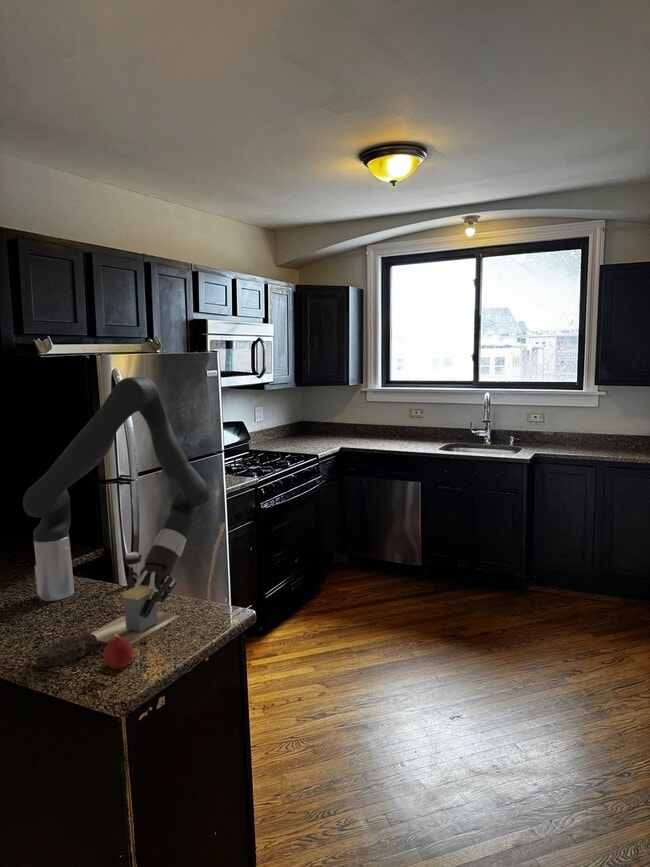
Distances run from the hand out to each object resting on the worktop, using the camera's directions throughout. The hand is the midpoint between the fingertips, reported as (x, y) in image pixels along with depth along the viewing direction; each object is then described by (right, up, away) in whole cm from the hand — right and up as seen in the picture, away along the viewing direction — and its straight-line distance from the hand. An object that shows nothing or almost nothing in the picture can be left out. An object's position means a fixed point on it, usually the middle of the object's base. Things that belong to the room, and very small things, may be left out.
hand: (135, 614), depth 141 cm
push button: (-12, -3, +36) cm, 38 cm away
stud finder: (+1, -3, +2) cm, 4 cm away
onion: (+2, -7, -16) cm, 18 cm away
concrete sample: (-12, -7, -9) cm, 17 cm away
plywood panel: (-2, -5, +3) cm, 6 cm away
